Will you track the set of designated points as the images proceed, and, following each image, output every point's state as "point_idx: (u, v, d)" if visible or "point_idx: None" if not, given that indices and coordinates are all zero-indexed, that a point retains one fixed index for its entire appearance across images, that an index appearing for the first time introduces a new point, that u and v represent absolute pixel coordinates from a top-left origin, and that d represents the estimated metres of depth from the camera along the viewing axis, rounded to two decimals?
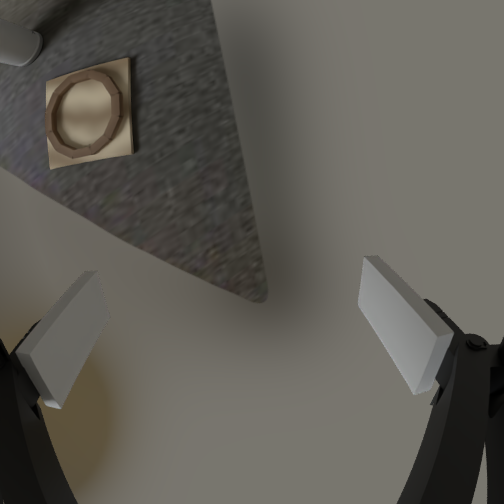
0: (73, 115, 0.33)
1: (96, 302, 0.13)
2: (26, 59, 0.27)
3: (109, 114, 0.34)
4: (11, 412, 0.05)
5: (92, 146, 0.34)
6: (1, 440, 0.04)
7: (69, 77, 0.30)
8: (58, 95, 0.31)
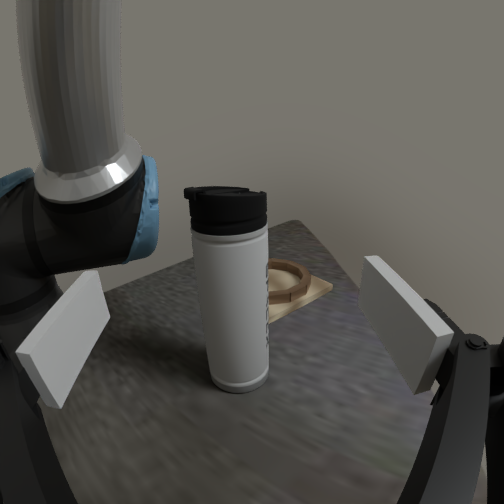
0: (276, 287, 0.46)
1: (96, 302, 0.13)
2: None
3: None
4: (11, 412, 0.05)
5: (285, 262, 0.51)
6: (1, 440, 0.04)
7: None
8: (268, 292, 0.42)
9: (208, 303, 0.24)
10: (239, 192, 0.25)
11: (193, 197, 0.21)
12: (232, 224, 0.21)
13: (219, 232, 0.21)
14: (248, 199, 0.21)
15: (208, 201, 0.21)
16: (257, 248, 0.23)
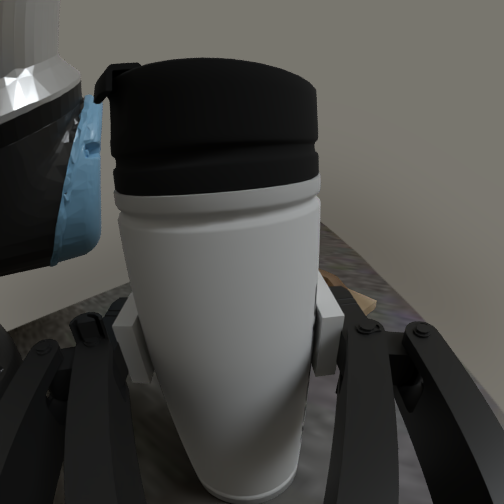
0: None
1: None
2: None
3: None
4: (99, 394, 0.06)
5: None
6: (79, 422, 0.05)
7: None
8: None
9: (169, 381, 0.09)
10: None
11: (104, 83, 0.05)
12: (220, 155, 0.06)
13: (178, 181, 0.06)
14: (274, 76, 0.06)
15: (144, 85, 0.05)
16: (300, 236, 0.07)
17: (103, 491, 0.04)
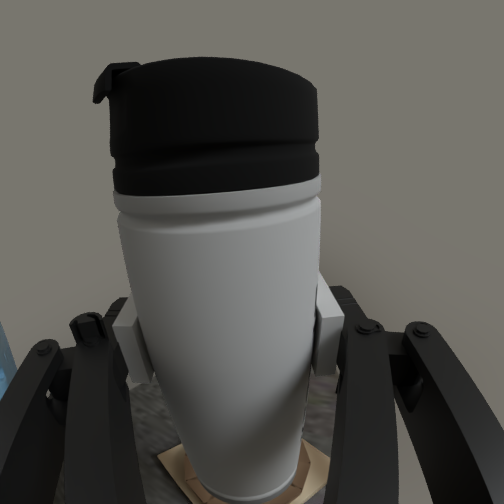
0: None
1: None
2: None
3: None
4: (99, 394, 0.06)
5: None
6: (79, 422, 0.05)
7: (207, 502, 0.20)
8: None
9: (168, 382, 0.09)
10: None
11: (103, 82, 0.05)
12: (220, 155, 0.06)
13: (177, 181, 0.06)
14: (275, 75, 0.06)
15: (144, 84, 0.05)
16: (301, 237, 0.07)
17: (103, 491, 0.04)
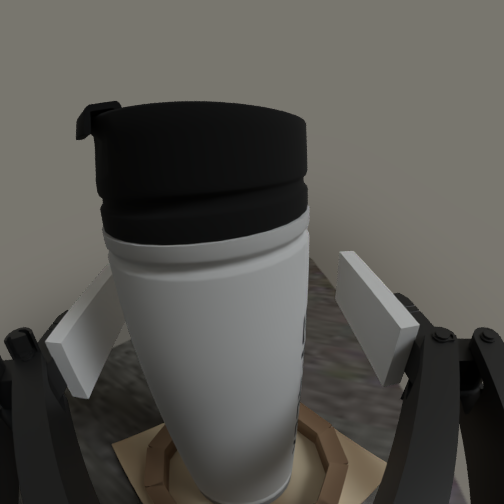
0: None
1: None
2: None
3: None
4: (37, 404, 0.06)
5: None
6: (24, 433, 0.05)
7: None
8: None
9: (163, 404, 0.09)
10: None
11: (83, 126, 0.05)
12: (202, 205, 0.06)
13: (160, 232, 0.06)
14: (257, 117, 0.06)
15: (122, 130, 0.05)
16: (286, 277, 0.07)
17: (54, 494, 0.03)
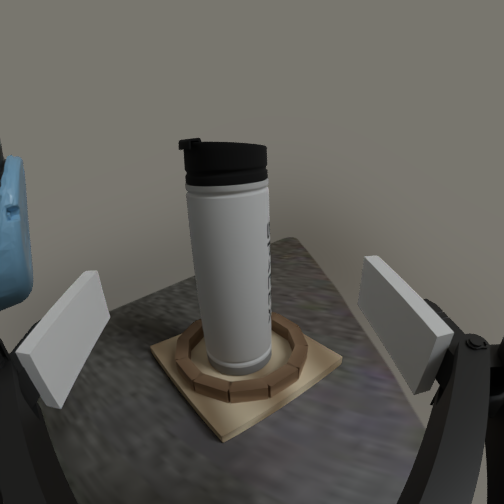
0: None
1: (96, 302, 0.13)
2: None
3: None
4: (11, 412, 0.05)
5: None
6: (1, 440, 0.04)
7: (195, 379, 0.23)
8: None
9: (203, 267, 0.22)
10: None
11: (188, 145, 0.19)
12: (229, 173, 0.19)
13: (215, 181, 0.19)
14: (246, 146, 0.19)
15: (204, 149, 0.19)
16: (257, 201, 0.21)
17: (34, 498, 0.03)
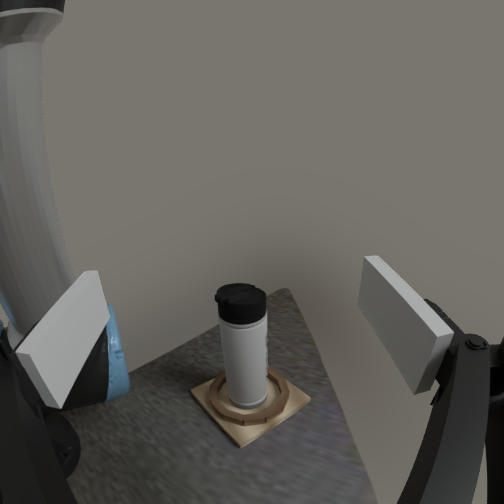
0: None
1: (96, 302, 0.13)
2: None
3: None
4: (11, 412, 0.05)
5: None
6: (1, 440, 0.04)
7: (224, 413, 0.39)
8: (244, 415, 0.39)
9: (230, 358, 0.38)
10: (248, 289, 0.39)
11: (221, 303, 0.35)
12: (245, 319, 0.35)
13: (238, 323, 0.35)
14: (255, 305, 0.35)
15: (231, 306, 0.35)
16: (260, 329, 0.37)
17: (34, 498, 0.03)
